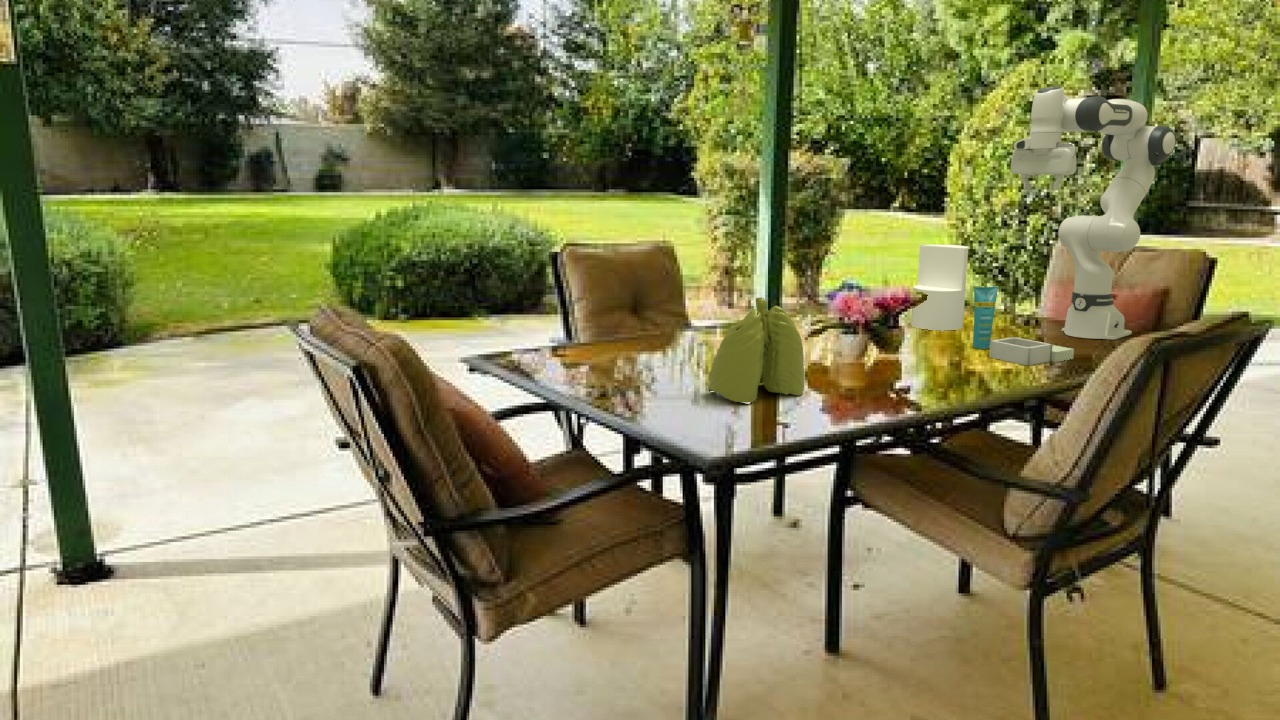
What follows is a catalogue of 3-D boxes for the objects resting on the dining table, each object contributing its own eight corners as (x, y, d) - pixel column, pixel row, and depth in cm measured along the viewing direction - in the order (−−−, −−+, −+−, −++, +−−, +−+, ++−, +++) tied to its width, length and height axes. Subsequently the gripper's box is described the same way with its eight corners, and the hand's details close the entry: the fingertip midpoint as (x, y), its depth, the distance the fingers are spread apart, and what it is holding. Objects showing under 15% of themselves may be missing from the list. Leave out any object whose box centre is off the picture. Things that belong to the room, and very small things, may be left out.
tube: (974, 349, 278) (978, 287, 274) (966, 346, 282) (970, 285, 278) (996, 349, 279) (1001, 287, 275) (988, 345, 283) (993, 285, 279)
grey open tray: (1025, 349, 277) (1027, 333, 276) (1073, 359, 264) (1074, 342, 263) (985, 356, 268) (986, 340, 267) (1032, 366, 255) (1033, 349, 254)
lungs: (777, 382, 240) (779, 291, 235) (814, 394, 226) (818, 299, 221) (697, 394, 228) (697, 299, 223) (732, 408, 215) (733, 307, 210)
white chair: (929, 320, 329) (933, 243, 323) (972, 327, 316) (978, 246, 310) (900, 326, 318) (905, 246, 312) (944, 333, 305) (950, 250, 299)
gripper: (1083, 142, 263) (1078, 190, 266) (1022, 143, 281) (1019, 189, 284) (1069, 142, 260) (1065, 191, 263) (1009, 143, 278) (1005, 189, 280)
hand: (1040, 190), depth 274 cm, fingers open, 8 cm apart
